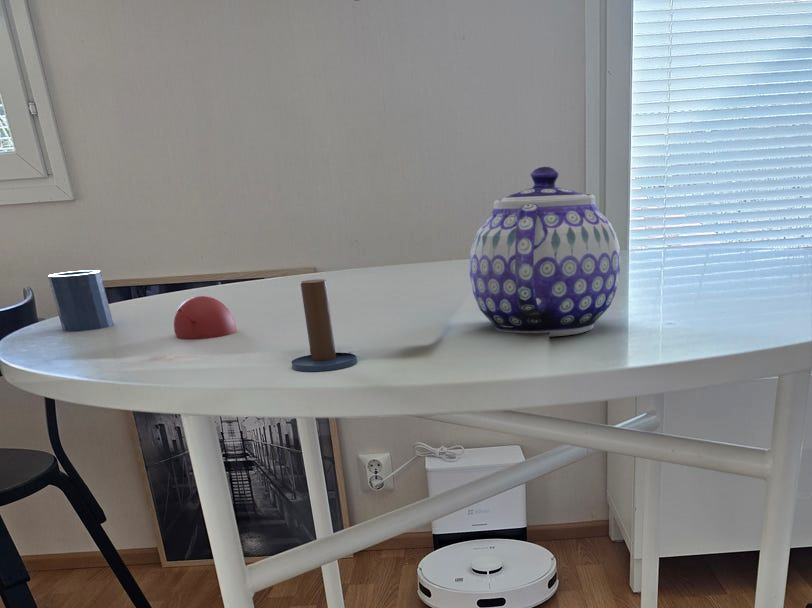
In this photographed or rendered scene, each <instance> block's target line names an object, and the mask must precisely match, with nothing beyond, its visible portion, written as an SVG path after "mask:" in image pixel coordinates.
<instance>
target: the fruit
mask: <svg viewBox="0 0 812 608" xmlns="http://www.w3.org/2000/svg"><path fill="white" fill-rule="evenodd" d="M173 329H174V333H175V334H174V335H175V337H176V339H178V340H187V341H188V340H206V339H215V338H221V337H225V336H231V335H233V334H235V333H237V325H236V321H235V319H234V315H233V314H232V312H231V311H230V309H229V308H228V307H227V306H226V305H225V304H224V303H223V302H222V301H220V300H218V299H216V298H215V297H211V296H209V295H208V296H207V295H197V296H196V295H195V296H193V297H189V298H188V299H186V300H184V301H183V302H182V303H181V304H180V305H179V307H178V308H177V310H176V312H175V315H174V319H173Z"/></svg>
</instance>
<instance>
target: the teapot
mask: <svg viewBox="0 0 812 608" xmlns="http://www.w3.org/2000/svg"><path fill="white" fill-rule="evenodd" d="M529 175H530V177H531V180H532V181H533V186H532V187H531V188H526V189H525V188H524V189H523V190H520V191H518V192H514V193H511V194H510V195H507V196H505V197H503V198H502V199H501V198H500V199H496V200H494V202H493V209H492V211H491V212H490V216H488V217H487V218H486V220H485V222H484V223H483V224H482V226H480V227H479V229H478V231H476V234H475V237H474V239H473V242H472V245H471V248H470V252H469V253H470V254H469V278H470V285H471V291H472V295H473V296H474V300H475V302H476V304H477V306H478V309H479V311H480V312H481V313H482V314H483V315H484V317H486V319H487V320H489V322H490V323H491V324H492V326H494V328H495V329H496V330H497V331H499V332H500V331H501V332H504V333H505V332H506V333H516V334H517V333H518V334H546V333H548V334H549V335H548V337H563V336H571V335H579V334H583V333H584V332H585V333H586V332H588V331H591V330H592V329H593V328H594V325H595V323H596V322H597V321H598V320H599V319H600V318H601V317H602V316H603V315H604V314H605V312H606V311H607V310H608V309H609V308H610V306H611V305H612V303H613V300H614V298H615V296H616V293H617V289H618V285H619V279H620V273H621V249H620V243H619V239H618V236H617V233H616V231H615V228H614V227H613V225H612V224H611V222H610V221H609V219H608V218H607V217H606V216H605V215H604V214H603V213H601V211H600V210H599V209H598V206H597V205H596V196H595V194H590V193H582V192H578V191H575V190H570V189H567V188H562V187H558V186H556V182H557V180H558V178H559V176H560V173H559V172H558V171H557V170H556V169H554V168H553V167H551V166H541V167H537V168H535V169H534V170H533V171H532V172H531V173H530V174H529Z"/></svg>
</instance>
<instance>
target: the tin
mask: <svg viewBox="0 0 812 608" xmlns="http://www.w3.org/2000/svg"><path fill="white" fill-rule="evenodd" d="M47 278H48V282H49V285H50V289H51V292H52V296H53V300H54V303H55V308H56V310H57V314H58V317H59V321H60V324H61V328H62V331H63V332H87V331H94V330H102V329H105V328H110V327H112V326H114V319H113V316H112V313H111V309H110V304H109V300H108V296H107V293H106V288H105V285H104V280H103V277H102V273H101V270H98V269H97V270H95V269H94V270H91V269H89V270H77V271H76V270H75V271H66V272H59V273H53V274H49V275H48V276H47Z"/></svg>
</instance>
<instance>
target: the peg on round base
mask: <svg viewBox="0 0 812 608" xmlns="http://www.w3.org/2000/svg"><path fill="white" fill-rule="evenodd" d="M299 284H300V290H301V291H300V292H301V297H302V304H303V311H304V317H305V323H306V324H305V325H306V330H307V338H308V345H309V350H310V351H309V352H310V354H307V355H304V356H300V357H299V356H298V357H296V358H294V359H292V361H291V367H292V369H293V370H295V371H298V372H327V371H336V370H341V369H345V368H349V367H351V366H354V365H355V364H357V363H358V359H357V355H356V354H354V353H350V352H340V351H339V352H336V345H335V337H334V330H333V323H332V322H333V321H332V316H331V315H332V314H331V307H330V300H329V299H330V298H329V293H328V286H327V280H326V279H323V278H322V279H321V278H320V279H317V278H316V279H307V280H302V281H300V283H299Z"/></svg>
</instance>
